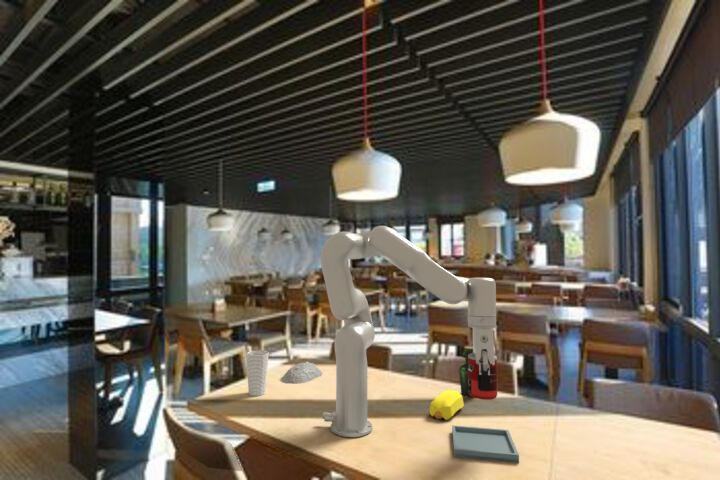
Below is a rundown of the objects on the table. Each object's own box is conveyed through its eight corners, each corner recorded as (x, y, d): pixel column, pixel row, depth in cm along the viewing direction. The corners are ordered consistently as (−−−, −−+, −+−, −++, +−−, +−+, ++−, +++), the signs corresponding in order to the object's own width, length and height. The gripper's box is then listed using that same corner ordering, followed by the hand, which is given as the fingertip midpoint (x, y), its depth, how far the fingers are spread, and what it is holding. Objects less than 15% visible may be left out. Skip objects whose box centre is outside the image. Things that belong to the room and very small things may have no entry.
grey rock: (329, 370, 191) (328, 355, 192) (305, 388, 168) (303, 372, 168) (299, 370, 196) (298, 356, 196) (272, 388, 173) (270, 372, 173)
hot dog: (466, 407, 145) (445, 403, 149) (466, 388, 145) (445, 384, 149) (448, 424, 130) (425, 419, 134) (448, 402, 130) (425, 398, 134)
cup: (265, 397, 153) (266, 355, 154) (242, 397, 153) (243, 355, 154) (270, 390, 161) (271, 350, 162) (249, 390, 161) (249, 350, 162)
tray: (454, 457, 108) (454, 449, 108) (452, 432, 123) (452, 425, 124) (519, 463, 105) (518, 455, 105) (508, 436, 120) (508, 429, 121)
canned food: (474, 389, 120) (474, 351, 121) (501, 395, 115) (501, 355, 116) (463, 395, 114) (463, 355, 115) (491, 402, 109) (490, 360, 110)
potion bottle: (477, 391, 162) (477, 345, 163) (483, 398, 154) (483, 349, 155) (456, 391, 162) (456, 345, 163) (461, 398, 154) (461, 349, 155)
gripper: (500, 327, 107) (501, 395, 106) (491, 318, 124) (492, 377, 123) (470, 325, 108) (471, 394, 107) (466, 317, 125) (466, 375, 124)
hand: (482, 384), depth 115 cm, fingers closed on canned food, 8 cm apart
